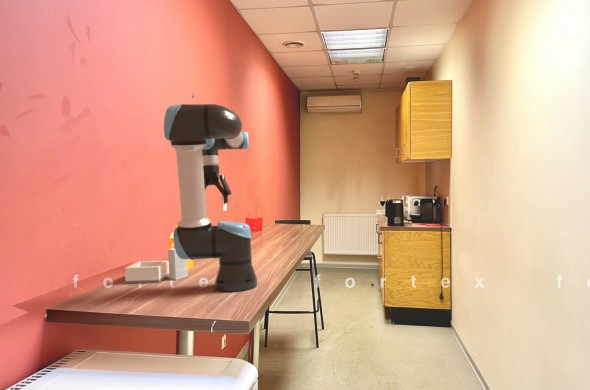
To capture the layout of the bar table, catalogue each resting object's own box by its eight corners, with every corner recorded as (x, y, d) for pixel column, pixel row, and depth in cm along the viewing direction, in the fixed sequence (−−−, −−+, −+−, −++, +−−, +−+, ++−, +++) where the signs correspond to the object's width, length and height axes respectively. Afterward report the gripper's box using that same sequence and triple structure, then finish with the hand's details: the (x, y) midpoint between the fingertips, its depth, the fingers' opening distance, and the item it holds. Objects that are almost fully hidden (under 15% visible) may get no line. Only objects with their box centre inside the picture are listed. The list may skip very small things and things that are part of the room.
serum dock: (159, 282, 149) (158, 267, 149) (125, 283, 149) (124, 268, 149) (170, 274, 162) (169, 260, 162) (139, 275, 162) (138, 261, 162)
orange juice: (193, 266, 178) (191, 223, 177) (186, 270, 169) (184, 225, 169) (177, 266, 179) (175, 223, 178) (169, 271, 170) (167, 225, 169)
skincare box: (181, 275, 159) (179, 247, 159) (187, 277, 157) (186, 247, 157) (168, 279, 155) (167, 249, 154) (175, 280, 152) (174, 250, 152)
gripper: (237, 163, 177) (239, 209, 177) (194, 167, 188) (196, 210, 188) (228, 163, 170) (230, 210, 171) (184, 166, 181) (185, 211, 181)
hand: (212, 210), depth 179 cm, fingers open, 13 cm apart
